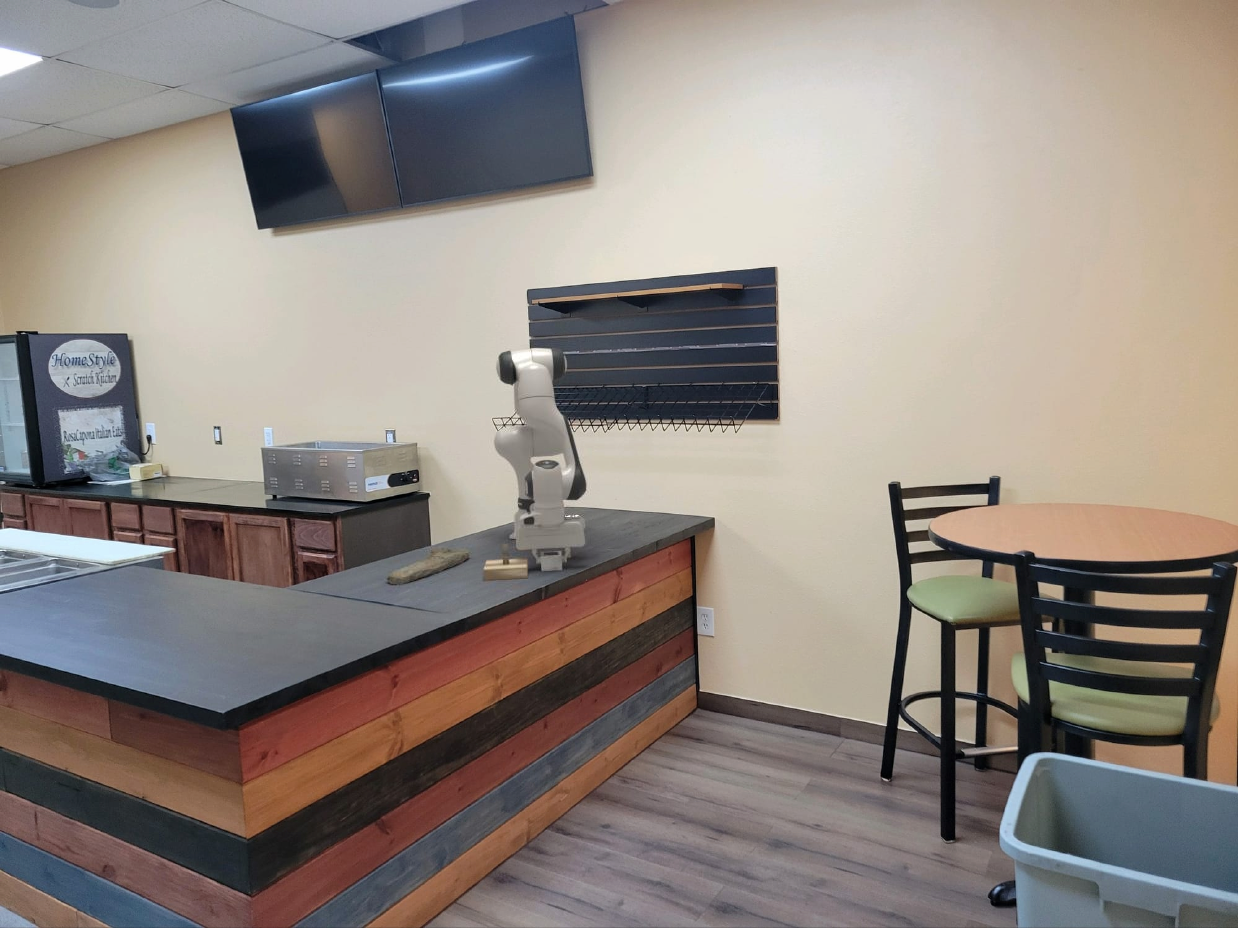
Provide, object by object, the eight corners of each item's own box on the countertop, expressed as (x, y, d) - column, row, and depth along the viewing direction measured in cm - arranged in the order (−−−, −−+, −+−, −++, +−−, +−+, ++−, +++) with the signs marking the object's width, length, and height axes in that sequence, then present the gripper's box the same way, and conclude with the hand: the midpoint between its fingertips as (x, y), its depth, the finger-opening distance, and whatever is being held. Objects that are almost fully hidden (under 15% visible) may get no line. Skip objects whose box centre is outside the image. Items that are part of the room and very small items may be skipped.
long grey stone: (378, 589, 241) (406, 593, 237) (376, 571, 240) (405, 575, 236) (451, 555, 272) (477, 558, 268) (450, 539, 271) (477, 542, 267)
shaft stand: (487, 570, 251) (485, 541, 250) (528, 567, 252) (526, 539, 251) (484, 580, 239) (482, 550, 238) (527, 577, 240) (525, 548, 239)
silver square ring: (541, 566, 253) (541, 551, 253) (561, 565, 254) (561, 550, 253) (541, 571, 248) (540, 556, 247) (562, 570, 248) (561, 555, 247)
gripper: (584, 512, 253) (586, 558, 254) (515, 516, 251) (517, 562, 253) (585, 516, 247) (587, 563, 248) (514, 520, 245) (516, 567, 247)
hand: (551, 562), depth 251 cm, fingers closed on silver square ring, 6 cm apart
